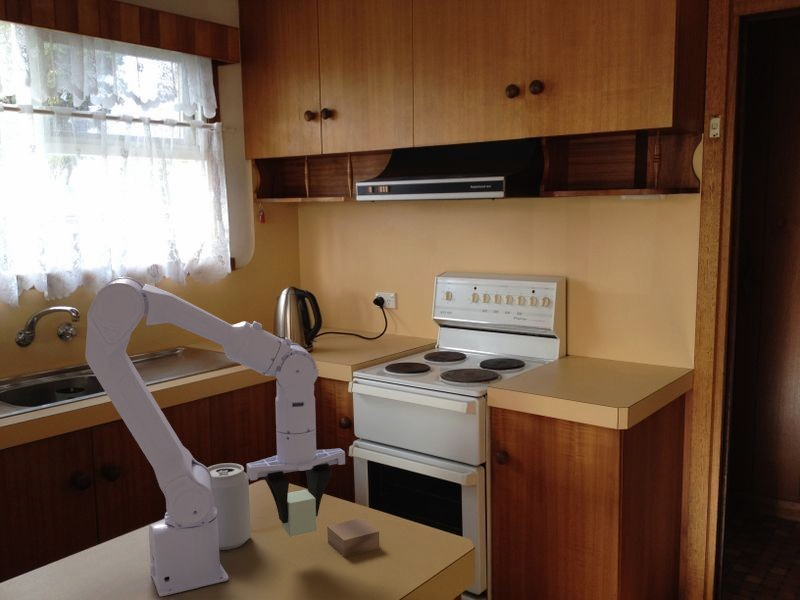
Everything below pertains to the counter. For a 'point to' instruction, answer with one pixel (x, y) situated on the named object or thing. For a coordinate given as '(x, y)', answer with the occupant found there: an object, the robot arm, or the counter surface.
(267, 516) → the counter surface
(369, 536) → the walnut slab
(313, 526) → the green block
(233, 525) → the can
